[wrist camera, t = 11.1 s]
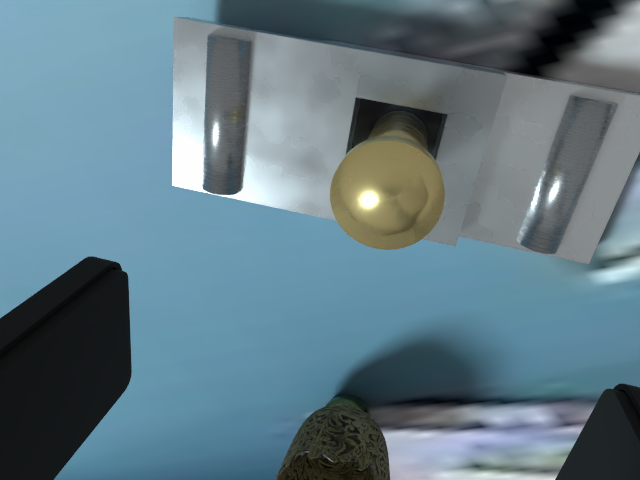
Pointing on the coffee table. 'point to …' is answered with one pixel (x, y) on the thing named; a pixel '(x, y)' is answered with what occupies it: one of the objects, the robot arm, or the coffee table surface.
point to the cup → (337, 445)
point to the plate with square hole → (411, 91)
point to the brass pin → (389, 185)
